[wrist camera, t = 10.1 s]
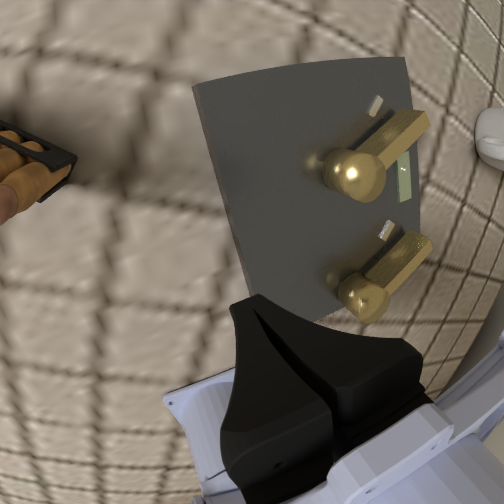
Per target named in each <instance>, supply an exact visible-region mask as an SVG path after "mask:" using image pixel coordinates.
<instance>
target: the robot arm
mask: <svg viewBox="0 0 504 504" xmlns="http://www.w3.org/2000/svg"><path fill="white" fill-rule="evenodd" d="M229 310H230V313H231V316H232V318H233V321H234V326H235V335H236V365H235V368H233V369H231V370H228V371H226V372H223V373H221V374H218V375H216V376H213V377H211V378H208V379H205V380H203V381H200V382H198V383H195V384H192V385H190V386H187V387H184V388H181V389H179V390H176V391H173V392H170V393H167V394H165V395H164V396H163V401H164V403H165V404H166V405H167V407H168V408H169V409H170V411H171V412H172V413H173V415H174V416H175V417H176V419H177V420H178V421H179V423H180V424H181V425H182V426H183V428H184V431H185V434H186V438H187V441H188V445H189V448H190V452H191V455H192V458H193V462H194V465H195V468H196V471H197V474H198V478H199V481H200V483H199V484H200V487H201V490H202V493H203V496H204V498H202V497H201V495H195V496H194V497H193V500H192V501H191V502H190V504H504V465H503V464H502V463H501V462H500V461H499V460H498V459H497V458H496V457H495V456H494V455H493V454H492V452H490V450H489V449H488V448H487V447H486V446H485V445H484V444H482V443H483V442H484V441H485V439H486V438H487V437H488V436H489V435H490V434H491V433H492V432H493V431H494V430H495V429H496V427H497V426H498V425H499V424H500V423H501V422H502V421H503V419H504V330H503V331H502V333H501V335H500V337H499V340H498V344H497V345H496V346H495V347H494V348H493V349H492V350H491V351H490V352H489V353H488V354H487V355H486V356H485V357H484V358H483V359H482V360H481V361H480V362H479V363H478V364H477V365H475V366H474V367H473V368H472V369H471V370H470V371H469V372H468V373H467V374H466V375H464V376H463V377H462V378H461V379H460V380H459V381H457V382H456V383H455V384H454V385H453V386H451V388H449V389H448V390H447V391H445V392H444V393H443V394H442V395H440V396H439V397H438V398H437V399H435V400H434V401H432V400H431V399H430V398H429V397H428V396H427V395H426V394H425V393H424V392H425V387H424V386H423V385H422V384H421V383H420V382H419V380H420V376H421V372H422V367H423V357H422V354H421V353H419V352H418V351H417V350H416V349H415V348H414V347H413V346H412V345H410V344H409V343H408V342H406V341H405V340H403V339H402V338H379V337H369V336H361V335H355V334H350V333H346V332H341V331H337V330H333V329H330V328H327V327H324V326H321V325H318V324H315V323H313V322H311V321H308V320H306V319H304V318H301V317H299V316H297V315H295V314H293V313H291V312H290V311H288V310H286V309H284V308H282V307H280V306H279V305H277V304H275V303H274V302H272V301H270V300H269V299H267V298H266V297H264V296H263V295H261V294H256V295H254V296H251V297H249V298H246V299H244V300H242V301H239V302H237V303H234V304H232V305H230V307H229ZM171 401H172V402H171ZM334 463H335V464H334Z"/></svg>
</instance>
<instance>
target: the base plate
mask: <svg viewBox="0 0 504 504" xmlns="http://www.w3.org/2000/svg"><path fill="white" fill-rule="evenodd" d="M192 90H193V94H194V98H195V101H196V105H197V109H198V112H199V116H200V120H201V123H202V127H203V131H204V134H205V138H206V142H207V145H208V149H209V153H210V156H211V160H212V163H213V167H214V171H215V174H216V178H217V181H218V185H219V189H220V192H221V196H222V199H223V203H224V206H225V210H226V213H227V217H228V220H229V224H230V227H231V231H232V234H233V238H234V241H235V245H236V248H237V252H238V255H239V259H240V262H241V266H242V269H243V273H244V276H245V280H246V283H247V286H248V290H249V293H250V297H251V296H254V295H256V294H261V295H263V296H264V297H266V298H267V299H269V300H270V301H272V302H274V303H275V304H277V305H279V306H280V307H282V308H284V309H286V310H288V311H290V312H291V313H293V314H295V315H297V316H299V317H301V318H304V319H306V320H308V321H311V322H314V321H316V320H318V319H320V318H322V317H325V316H327V315H329V314H331V313H333V312H335V311H337V310H339V309H341V308H343V307H345V306H344V305H343V304H342V303H341V302H340V301H339V299H338V290H339V287H340V285H341V283H342V282H343V281H344V280H345V278H347V277H348V276H349V275H351V274H353V273H356V272H360V273H363V274H364V275H366V274H367V273H368V272H369V271H370V270H371V269H372V268H373V267H374V266H375V265H376V264H377V263H378V262H379V261H380V260H381V259H382V258H383V257H384V256H385V255H386V254H387V253H388V252H389V251H390V250H391V249H392V248H393V247H394V246H395V245H396V243H397V242H398V241H399V240H400V239H401V238H402V237H403V236H404V235H405V234H406V233H407V232H408V231H409V230H412V231H414V232H416V233H418V234H420V197H419V171H418V155H417V142H416V141H415V142H414V143H413V144H412V145H411V146H410V147H409V148H408V149H407V150H406V151H405V152H404V153H403V154H402V155H401V156H400V157H399V158H398V159H397V160H396V161H395V162H394V163H393V164H392V165H391V166H390V167H389V168H388V169H387V170H386V182H385V186H384V188H383V191H382V192H381V194H380V195H379V196H378V197H377V198H376V199H375V200H373V201H371V202H368V203H362V202H359V201H357V200H355V199H352V198H350V197H348V196H345V195H343V194H341V193H338V192H336V191H334V190H332V189H330V188H329V187H328V186H327V185H326V184H325V182H324V180H323V176H322V167H323V163H324V161H325V159H326V157H327V156H328V154H329V153H330V152H332V151H333V150H335V149H339V148H344V149H349V150H353V151H355V150H356V149H357V148H358V147H359V146H361V145H362V144H363V143H364V142H365V141H366V140H367V139H368V138H369V137H370V136H372V135H373V134H374V133H375V132H376V131H377V130H378V129H379V128H380V127H382V126H383V125H384V124H385V123H386V122H387V121H388V120H389V119H390V118H392V117H393V116H394V115H395V114H396V113H397V112H398V111H399V110H400V109H409V110H413V106H412V98H411V91H410V85H409V79H408V73H407V67H406V62H405V57H371V58H353V59H339V60H328V61H319V62H310V63H302V64H295V65H288V66H281V67H275V68H269V69H263V70H258V71H252V72H247V73H242V74H237V75H233V76H228V77H224V78H220V79H215V80H211V81H207V82H203V83H199V84H196V85H194V86H192ZM417 268H418V267H417Z"/></svg>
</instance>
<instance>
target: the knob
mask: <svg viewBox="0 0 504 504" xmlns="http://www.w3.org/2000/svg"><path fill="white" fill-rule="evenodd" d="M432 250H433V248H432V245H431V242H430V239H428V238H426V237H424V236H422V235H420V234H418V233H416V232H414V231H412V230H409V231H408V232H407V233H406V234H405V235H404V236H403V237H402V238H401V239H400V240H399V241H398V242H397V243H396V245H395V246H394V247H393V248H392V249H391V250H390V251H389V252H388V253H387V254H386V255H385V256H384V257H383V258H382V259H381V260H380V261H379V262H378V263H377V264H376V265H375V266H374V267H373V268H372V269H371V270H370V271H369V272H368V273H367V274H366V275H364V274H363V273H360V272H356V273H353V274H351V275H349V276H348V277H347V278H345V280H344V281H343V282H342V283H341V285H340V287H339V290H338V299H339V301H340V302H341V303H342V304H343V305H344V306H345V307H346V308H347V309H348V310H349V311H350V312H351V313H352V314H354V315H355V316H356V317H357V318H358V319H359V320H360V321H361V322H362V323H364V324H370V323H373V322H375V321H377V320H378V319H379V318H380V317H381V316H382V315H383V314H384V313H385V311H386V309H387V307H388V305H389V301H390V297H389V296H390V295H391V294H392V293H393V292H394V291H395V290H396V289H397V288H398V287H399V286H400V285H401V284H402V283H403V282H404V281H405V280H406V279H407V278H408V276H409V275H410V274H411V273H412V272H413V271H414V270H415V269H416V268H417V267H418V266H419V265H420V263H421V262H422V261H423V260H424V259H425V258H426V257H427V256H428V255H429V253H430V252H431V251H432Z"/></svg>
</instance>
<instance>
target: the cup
mask: <svg viewBox="0 0 504 504" xmlns="http://www.w3.org/2000/svg"><path fill="white" fill-rule="evenodd" d="M475 144H476V148H477V152H478V154H479V156H480V157H481V159H482V160H483V161H484V162H485V163H487V164H488V165H490V166H492V167H494V168H497V169H499V170H501V171H503V172H504V108H499V107H492V108H487V109H485V110H483V111H482V112H481V114H480V115H479V117H478V119H477V122H476V127H475Z"/></svg>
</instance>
